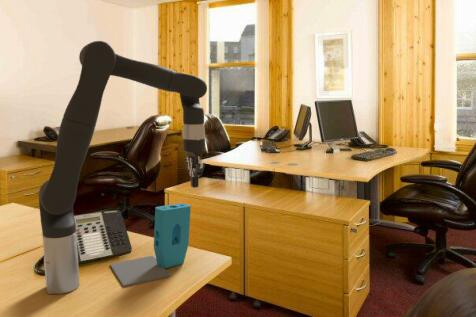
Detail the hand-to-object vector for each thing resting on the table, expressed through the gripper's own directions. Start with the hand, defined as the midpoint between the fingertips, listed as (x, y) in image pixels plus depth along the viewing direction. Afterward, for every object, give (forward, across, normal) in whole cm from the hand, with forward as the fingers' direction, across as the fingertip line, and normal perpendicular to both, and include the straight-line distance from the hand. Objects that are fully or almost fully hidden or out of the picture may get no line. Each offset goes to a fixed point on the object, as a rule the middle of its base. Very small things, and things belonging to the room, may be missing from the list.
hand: (194, 187), depth 145 cm
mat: (+26, 0, -20) cm, 33 cm away
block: (+26, 0, -10) cm, 28 cm away
